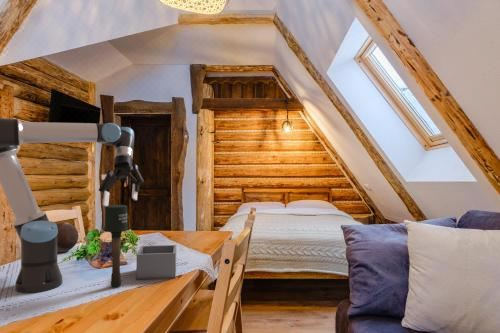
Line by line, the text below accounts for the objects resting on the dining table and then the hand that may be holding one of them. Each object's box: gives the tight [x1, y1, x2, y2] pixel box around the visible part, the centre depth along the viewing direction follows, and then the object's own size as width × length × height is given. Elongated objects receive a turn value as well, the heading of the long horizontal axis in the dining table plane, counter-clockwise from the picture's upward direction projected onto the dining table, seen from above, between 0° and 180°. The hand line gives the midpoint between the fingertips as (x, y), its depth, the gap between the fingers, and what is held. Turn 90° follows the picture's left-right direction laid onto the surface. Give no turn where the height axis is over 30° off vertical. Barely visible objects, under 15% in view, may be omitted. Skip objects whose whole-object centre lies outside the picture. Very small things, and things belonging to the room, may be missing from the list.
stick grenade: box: [103, 204, 129, 288], centre depth 134 cm, size 8×9×30 cm
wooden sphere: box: [56, 222, 79, 253], centre depth 185 cm, size 15×15×15 cm
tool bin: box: [135, 244, 177, 281], centre depth 150 cm, size 15×15×10 cm
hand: (119, 202), depth 148 cm, fingers open, 13 cm apart
